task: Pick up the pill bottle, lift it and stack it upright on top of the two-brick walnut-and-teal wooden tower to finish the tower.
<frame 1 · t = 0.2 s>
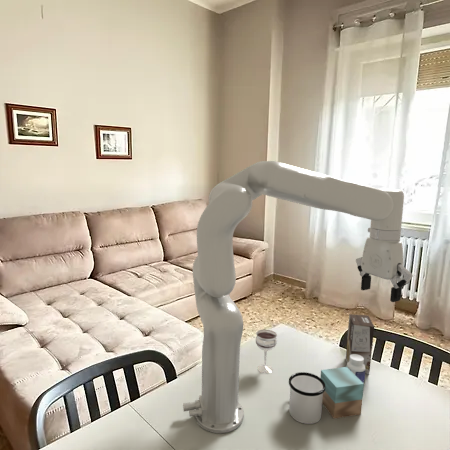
hand: (379, 295, 97), 30 cm above the table, tool pointing down, fingers open, 9 cm apart
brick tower: (339, 406, 96), on the table
pill bottle: (354, 384, 106), on the table
coffee box: (357, 366, 116), on the table
wineglass: (264, 369, 113), on the table
mug: (302, 410, 94), on the table
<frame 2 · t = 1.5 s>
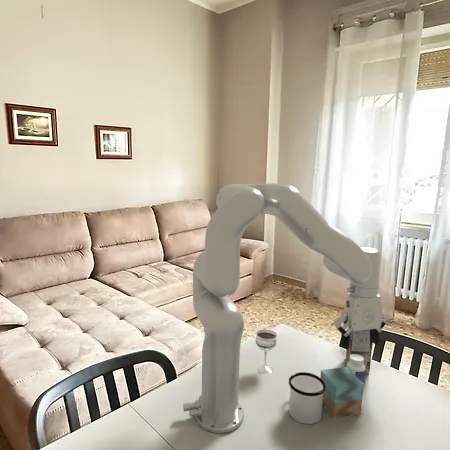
hand: (359, 344, 104), 13 cm above the table, tool pointing down, fingers open, 9 cm apart
nothing on the table moved.
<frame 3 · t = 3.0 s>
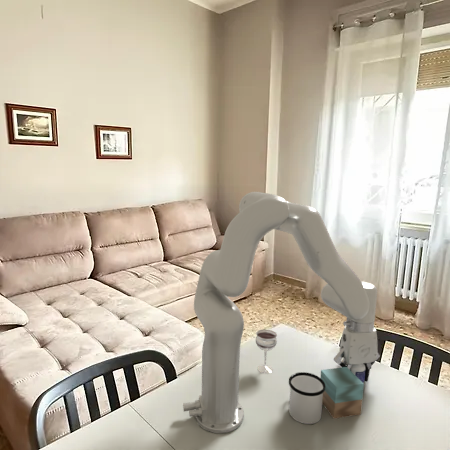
hand: (354, 379, 105), 1 cm above the table, tool pointing down, fingers closed on pill bottle, 5 cm apart
pill bottle: (354, 384, 106), on the table, touching gripper
everything else where it was.
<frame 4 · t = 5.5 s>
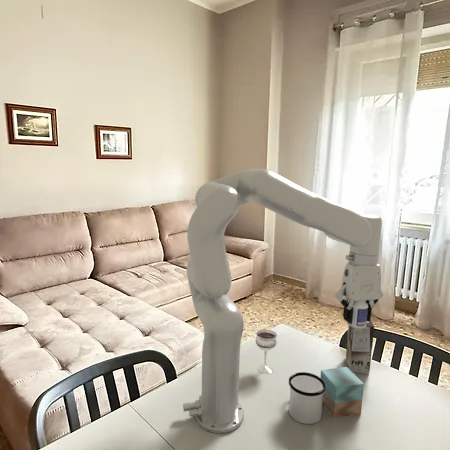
hand: (356, 319, 100), 22 cm above the table, tool pointing down, fingers closed on pill bottle, 5 cm apart
pill bottle: (356, 325, 100), point 20 cm above the table, touching gripper
everything else where it was.
when the fingers open (12 cm above the table, at t = 7.9 s): pill bottle drops 1 cm, resting on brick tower.
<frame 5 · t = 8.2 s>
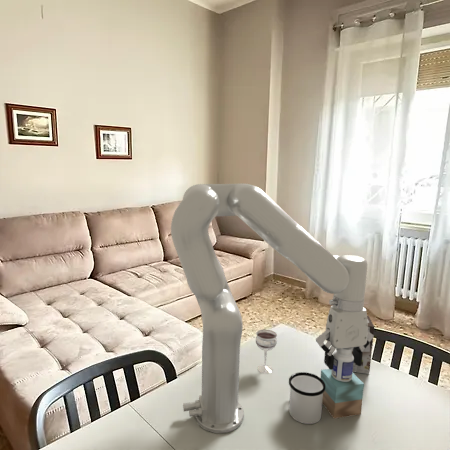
hand: (342, 364, 94), 12 cm above the table, tool pointing down, fingers open, 7 cm apart
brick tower: (339, 406, 96), on the table, touching pill bottle
pill bottle: (341, 377, 94), point 9 cm above the table, touching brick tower
everything else where it was.
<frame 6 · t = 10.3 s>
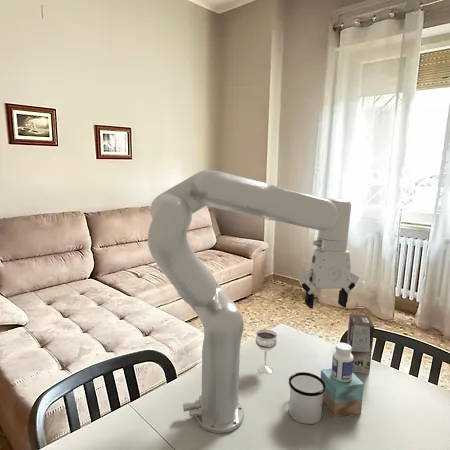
hand: (325, 306, 95), 27 cm above the table, tool pointing down, fingers open, 9 cm apart
nothing on the table moved.
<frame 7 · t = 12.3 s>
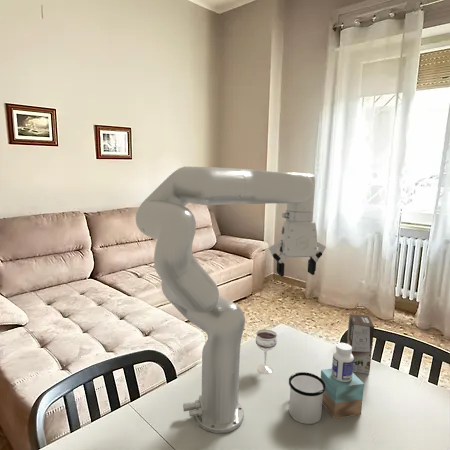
hand: (295, 274, 103), 33 cm above the table, tool pointing down, fingers open, 9 cm apart
nothing on the table moved.
at the end: pill bottle 0.1 cm off-centre on the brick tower, point 8.8 cm above the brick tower's base; pill bottle tilted 0°; the gripper is holding nothing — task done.
